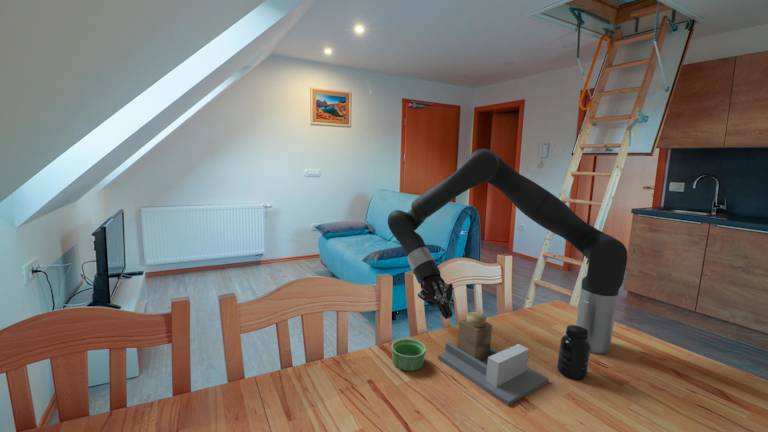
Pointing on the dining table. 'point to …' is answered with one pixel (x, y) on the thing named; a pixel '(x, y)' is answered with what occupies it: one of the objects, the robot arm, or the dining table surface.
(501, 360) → the mount
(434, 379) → the dining table surface
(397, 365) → the ramekin
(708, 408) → the dining table surface
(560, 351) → the supplement bottle
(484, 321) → the brown bottle-shaped block
